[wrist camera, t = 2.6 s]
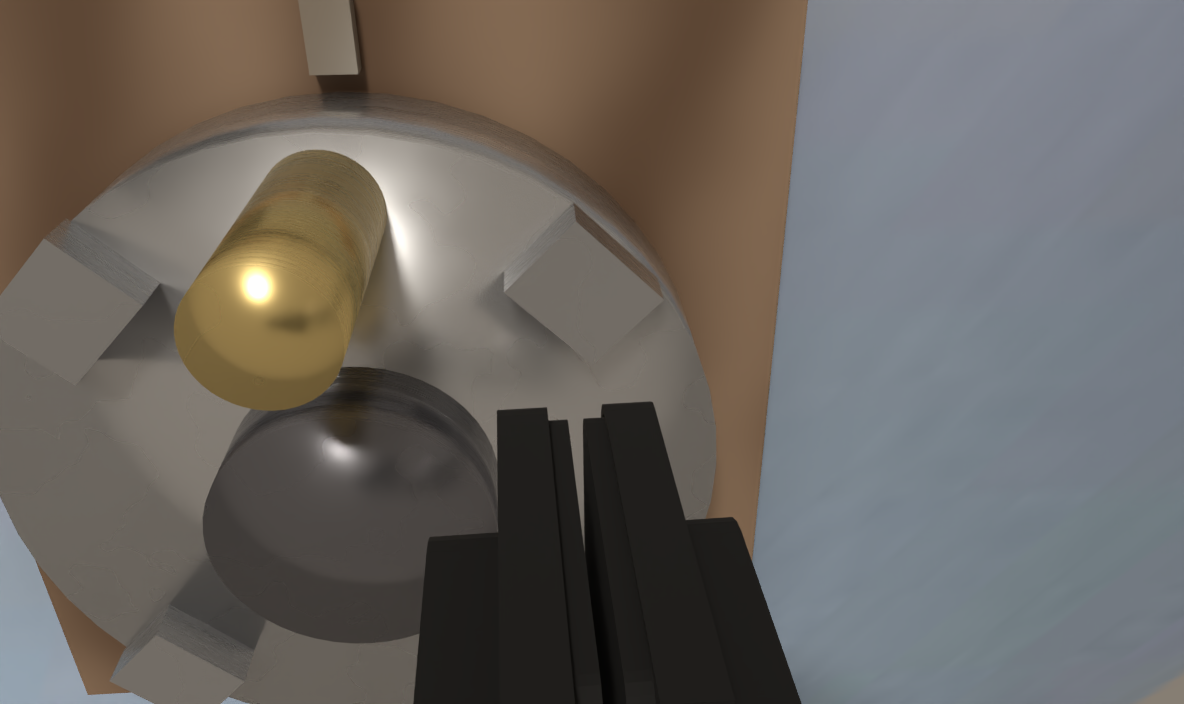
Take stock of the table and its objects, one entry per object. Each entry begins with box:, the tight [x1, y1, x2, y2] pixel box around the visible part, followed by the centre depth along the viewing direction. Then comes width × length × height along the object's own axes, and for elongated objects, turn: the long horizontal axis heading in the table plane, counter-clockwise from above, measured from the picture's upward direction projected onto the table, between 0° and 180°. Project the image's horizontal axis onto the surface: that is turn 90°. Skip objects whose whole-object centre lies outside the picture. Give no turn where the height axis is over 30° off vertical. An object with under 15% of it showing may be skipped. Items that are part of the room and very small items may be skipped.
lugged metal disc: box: [0, 92, 716, 704], centre depth 21 cm, size 16×16×8 cm
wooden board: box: [0, 0, 808, 695], centre depth 25 cm, size 22×20×2 cm
